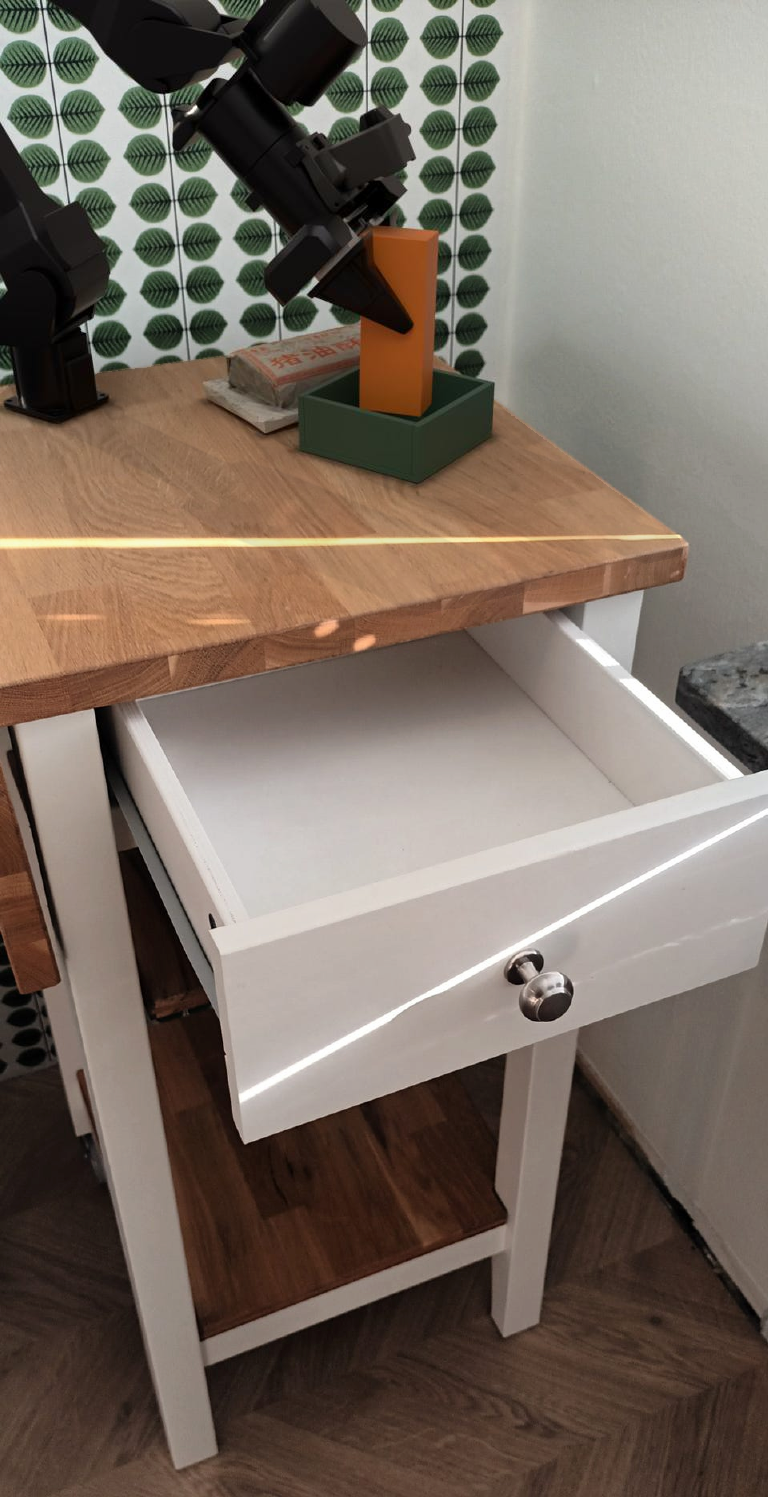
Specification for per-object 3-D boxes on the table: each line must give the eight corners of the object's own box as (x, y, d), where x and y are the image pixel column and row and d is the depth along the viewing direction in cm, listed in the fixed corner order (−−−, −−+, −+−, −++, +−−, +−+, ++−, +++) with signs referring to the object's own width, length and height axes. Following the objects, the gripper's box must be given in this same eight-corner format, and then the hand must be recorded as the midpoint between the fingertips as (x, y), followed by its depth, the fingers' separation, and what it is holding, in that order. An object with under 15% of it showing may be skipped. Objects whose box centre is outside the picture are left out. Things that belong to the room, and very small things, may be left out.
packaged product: (370, 306, 113) (439, 335, 107) (370, 359, 116) (437, 390, 110) (197, 344, 104) (261, 378, 98) (202, 400, 107) (264, 437, 101)
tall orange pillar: (359, 409, 97) (361, 234, 90) (371, 396, 100) (374, 225, 93) (420, 417, 96) (427, 240, 89) (431, 404, 99) (439, 231, 91)
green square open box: (299, 450, 99) (297, 395, 96) (378, 407, 106) (378, 355, 104) (418, 483, 94) (419, 426, 91) (492, 436, 101) (495, 382, 99)
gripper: (302, 91, 78) (466, 287, 82) (382, 51, 93) (517, 220, 97) (195, 215, 84) (352, 391, 89) (285, 160, 99) (417, 313, 103)
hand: (415, 323), depth 94 cm, fingers closed on tall orange pillar, 3 cm apart
